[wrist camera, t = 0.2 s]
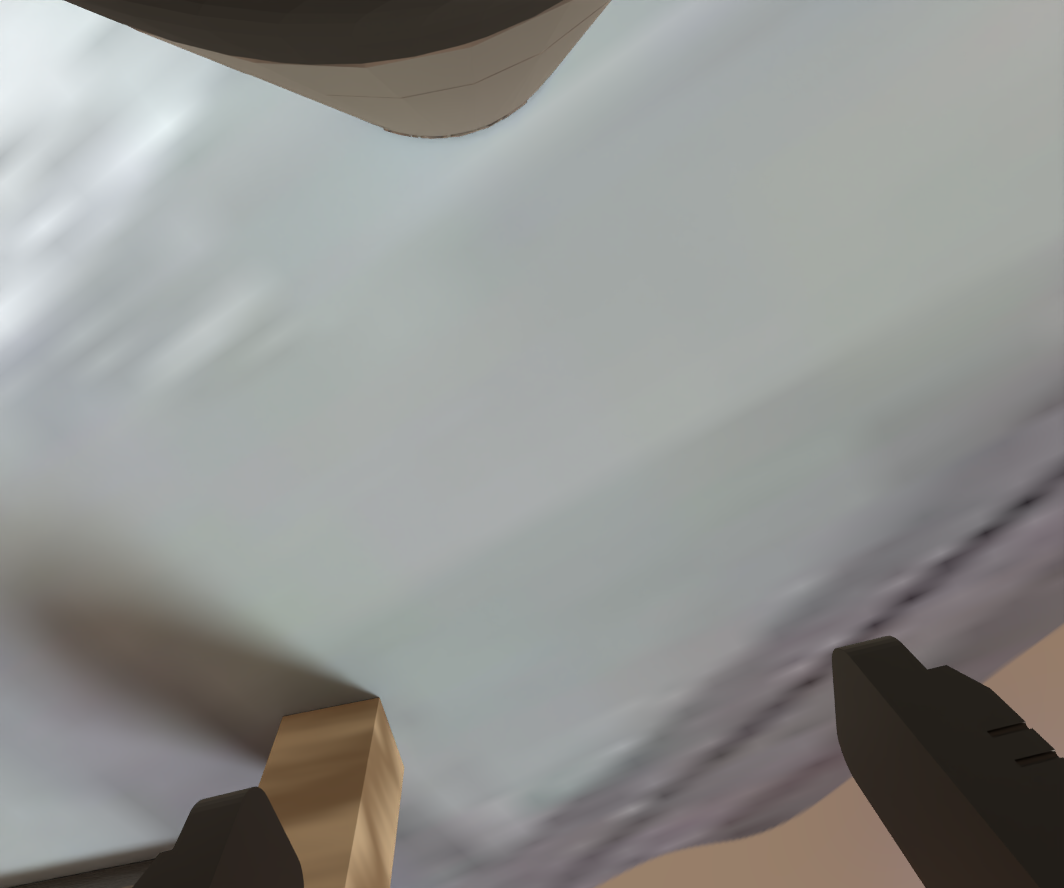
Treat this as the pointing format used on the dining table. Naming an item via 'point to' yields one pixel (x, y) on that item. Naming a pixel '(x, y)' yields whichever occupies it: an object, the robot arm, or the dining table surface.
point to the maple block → (338, 793)
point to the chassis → (98, 878)
